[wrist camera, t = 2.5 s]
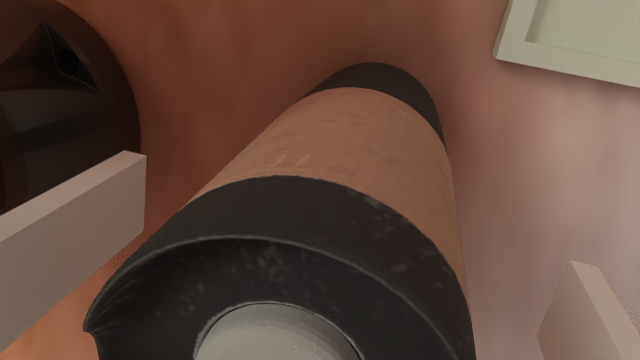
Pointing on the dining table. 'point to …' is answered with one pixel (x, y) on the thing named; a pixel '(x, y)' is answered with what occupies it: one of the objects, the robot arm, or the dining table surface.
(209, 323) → the travel mug
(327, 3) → the dining table surface
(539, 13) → the tray
